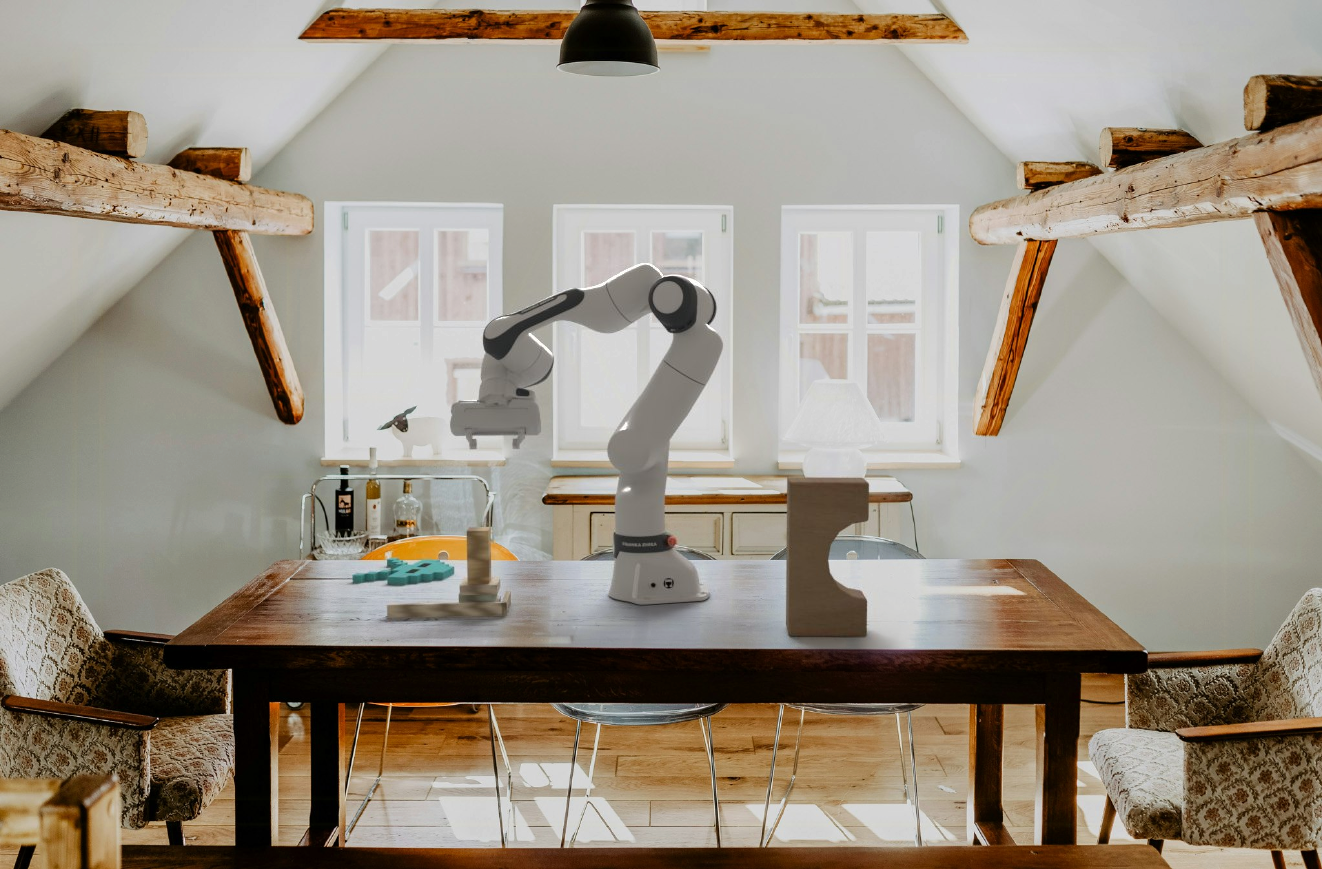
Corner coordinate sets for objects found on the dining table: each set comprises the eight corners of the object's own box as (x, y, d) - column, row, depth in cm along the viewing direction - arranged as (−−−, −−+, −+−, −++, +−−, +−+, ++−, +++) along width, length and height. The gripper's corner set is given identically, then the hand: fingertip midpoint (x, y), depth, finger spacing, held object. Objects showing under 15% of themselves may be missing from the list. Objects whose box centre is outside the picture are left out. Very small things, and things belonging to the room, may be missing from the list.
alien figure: (352, 584, 247) (431, 588, 243) (352, 575, 247) (431, 578, 243) (391, 566, 266) (464, 569, 262) (390, 557, 266) (464, 560, 262)
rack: (510, 608, 222) (510, 591, 222) (506, 621, 212) (506, 602, 212) (396, 610, 221) (396, 593, 221) (387, 623, 211) (386, 605, 211)
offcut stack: (500, 605, 221) (500, 577, 220) (497, 613, 214) (497, 584, 213) (462, 605, 220) (462, 577, 220) (458, 614, 213) (457, 585, 213)
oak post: (491, 578, 219) (490, 526, 218) (489, 583, 214) (488, 530, 213) (470, 579, 218) (469, 527, 217) (467, 584, 214) (466, 531, 213)
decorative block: (861, 626, 208) (863, 477, 205) (867, 637, 200) (869, 482, 197) (785, 625, 208) (787, 477, 206) (788, 636, 201) (789, 482, 198)
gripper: (450, 391, 236) (445, 438, 227) (541, 391, 237) (539, 438, 228) (453, 409, 241) (448, 456, 232) (542, 409, 242) (540, 456, 233)
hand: (494, 447), depth 230 cm, fingers open, 8 cm apart
